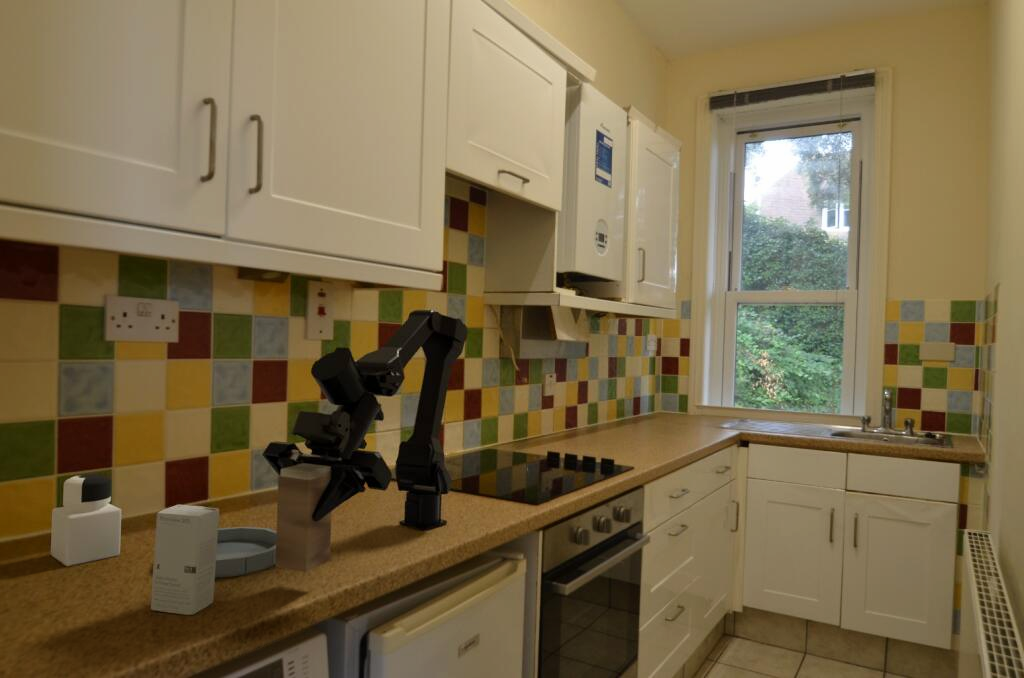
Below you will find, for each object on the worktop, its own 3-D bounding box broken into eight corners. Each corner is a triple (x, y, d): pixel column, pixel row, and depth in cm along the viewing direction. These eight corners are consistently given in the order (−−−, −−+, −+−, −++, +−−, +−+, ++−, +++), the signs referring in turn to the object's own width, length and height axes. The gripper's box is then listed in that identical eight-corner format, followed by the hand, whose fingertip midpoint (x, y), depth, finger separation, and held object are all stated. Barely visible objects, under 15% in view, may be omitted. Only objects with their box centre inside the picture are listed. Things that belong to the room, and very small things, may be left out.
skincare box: (148, 611, 79) (152, 512, 79) (173, 597, 84) (176, 503, 84) (194, 616, 78) (198, 516, 78) (217, 601, 83) (220, 506, 83)
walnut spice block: (300, 555, 91) (303, 462, 91) (329, 560, 89) (332, 466, 89) (275, 566, 87) (278, 469, 87) (306, 572, 85) (309, 472, 85)
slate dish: (246, 536, 110) (247, 521, 110) (305, 557, 100) (306, 540, 100) (148, 560, 97) (149, 543, 97) (205, 586, 87) (206, 568, 87)
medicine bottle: (103, 545, 103) (105, 469, 103) (120, 555, 98) (123, 476, 98) (49, 555, 97) (52, 475, 97) (65, 567, 93) (68, 483, 93)
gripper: (273, 386, 95) (211, 475, 85) (383, 393, 88) (331, 491, 78) (306, 433, 102) (253, 520, 92) (410, 443, 96) (366, 538, 85)
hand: (297, 517), depth 87 cm, fingers closed on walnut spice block, 5 cm apart
